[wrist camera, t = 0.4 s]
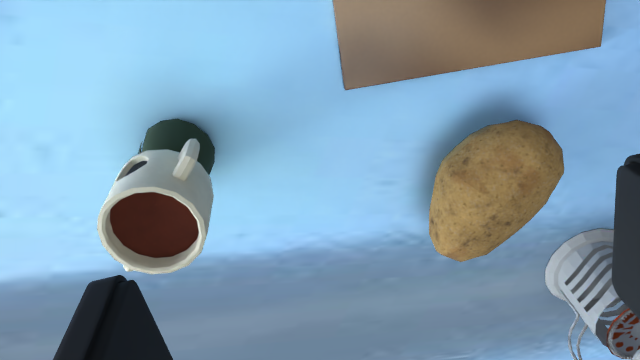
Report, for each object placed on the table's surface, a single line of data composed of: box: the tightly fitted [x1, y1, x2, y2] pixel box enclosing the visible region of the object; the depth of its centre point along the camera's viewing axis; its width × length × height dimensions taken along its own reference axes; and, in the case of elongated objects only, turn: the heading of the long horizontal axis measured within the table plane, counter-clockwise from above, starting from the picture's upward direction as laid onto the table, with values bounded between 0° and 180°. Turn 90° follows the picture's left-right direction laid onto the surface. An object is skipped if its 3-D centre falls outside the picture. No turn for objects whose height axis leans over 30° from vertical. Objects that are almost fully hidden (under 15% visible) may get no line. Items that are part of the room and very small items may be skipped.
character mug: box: [97, 119, 215, 274], centre depth 41 cm, size 11×7×13 cm, turn 148°
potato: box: [429, 120, 564, 262], centre depth 47 cm, size 10×14×8 cm
